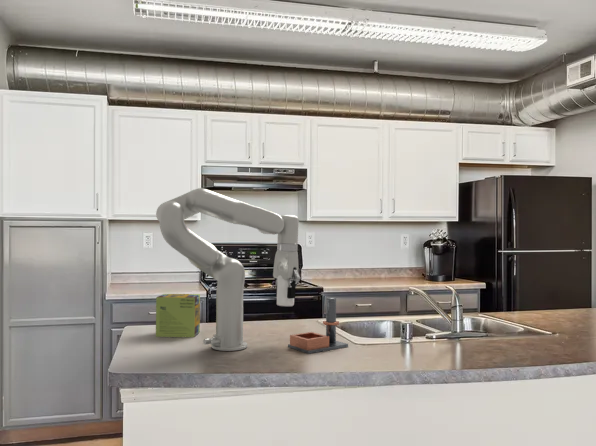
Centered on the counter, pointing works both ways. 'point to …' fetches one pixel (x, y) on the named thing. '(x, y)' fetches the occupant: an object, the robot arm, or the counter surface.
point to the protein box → (177, 315)
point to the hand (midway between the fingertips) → (285, 296)
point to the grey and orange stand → (316, 341)
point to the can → (283, 293)
